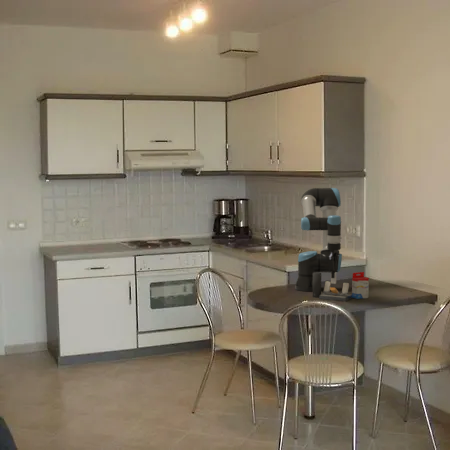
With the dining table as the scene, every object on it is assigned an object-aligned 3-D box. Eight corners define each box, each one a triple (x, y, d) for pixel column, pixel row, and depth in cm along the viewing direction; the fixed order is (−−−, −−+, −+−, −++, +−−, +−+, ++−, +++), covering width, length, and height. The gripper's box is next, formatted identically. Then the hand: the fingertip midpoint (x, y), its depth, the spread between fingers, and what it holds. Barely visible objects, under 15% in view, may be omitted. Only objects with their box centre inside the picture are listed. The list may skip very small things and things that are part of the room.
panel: (319, 298, 412) (319, 294, 411) (325, 295, 421) (325, 291, 421) (345, 301, 404) (345, 296, 404) (351, 298, 414) (352, 293, 413)
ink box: (356, 299, 410) (357, 274, 409) (351, 297, 415) (351, 272, 413) (368, 297, 414) (369, 272, 413) (363, 296, 418) (363, 271, 417)
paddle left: (323, 292, 415) (325, 281, 417) (324, 293, 416) (326, 281, 418) (328, 292, 413) (330, 281, 415) (329, 293, 414) (331, 282, 416)
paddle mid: (333, 294, 413) (329, 289, 408) (333, 291, 414) (330, 287, 408) (338, 294, 412) (335, 290, 406) (338, 291, 412) (335, 287, 407)
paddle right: (341, 294, 409) (343, 282, 411) (342, 294, 411) (344, 283, 413) (346, 294, 408) (348, 283, 410) (347, 295, 409) (349, 283, 411)
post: (311, 297, 417) (311, 273, 416) (314, 295, 421) (314, 272, 420) (319, 297, 415) (319, 274, 413) (322, 296, 419) (322, 272, 418)
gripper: (336, 244, 399) (335, 285, 402) (344, 241, 410) (343, 282, 413) (323, 243, 403) (323, 284, 405) (331, 240, 414) (331, 280, 416)
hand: (333, 283), depth 409 cm, fingers closed
